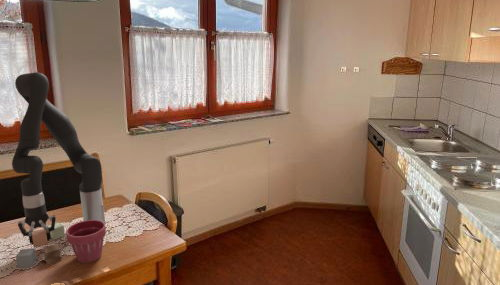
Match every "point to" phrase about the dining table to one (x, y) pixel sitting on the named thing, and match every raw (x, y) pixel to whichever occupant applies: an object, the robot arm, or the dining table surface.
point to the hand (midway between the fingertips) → (40, 241)
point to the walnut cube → (52, 254)
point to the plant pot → (86, 239)
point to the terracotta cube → (39, 238)
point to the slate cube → (26, 258)
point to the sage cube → (57, 231)
